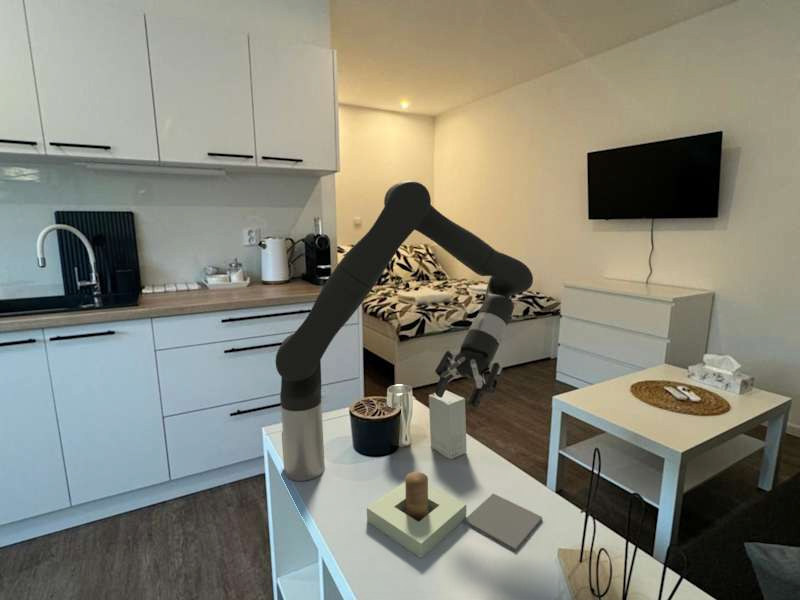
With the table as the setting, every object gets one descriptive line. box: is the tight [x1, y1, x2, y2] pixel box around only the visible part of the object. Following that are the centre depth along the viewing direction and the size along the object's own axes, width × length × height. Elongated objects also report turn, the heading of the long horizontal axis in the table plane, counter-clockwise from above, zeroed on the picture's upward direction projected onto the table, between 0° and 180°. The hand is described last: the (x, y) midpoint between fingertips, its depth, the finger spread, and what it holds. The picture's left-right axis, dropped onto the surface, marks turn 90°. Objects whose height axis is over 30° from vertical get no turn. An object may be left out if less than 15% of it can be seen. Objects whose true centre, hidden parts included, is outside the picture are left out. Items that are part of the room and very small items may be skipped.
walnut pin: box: [404, 471, 429, 522], centre depth 83 cm, size 4×4×9 cm
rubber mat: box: [463, 493, 543, 552], centre depth 83 cm, size 11×11×1 cm
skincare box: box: [428, 389, 467, 460], centre depth 108 cm, size 8×6×15 cm
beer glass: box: [386, 384, 414, 448], centre depth 112 cm, size 7×7×15 cm
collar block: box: [366, 481, 467, 559], centre depth 83 cm, size 14×14×3 cm
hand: (454, 401), depth 89 cm, fingers open, 8 cm apart
